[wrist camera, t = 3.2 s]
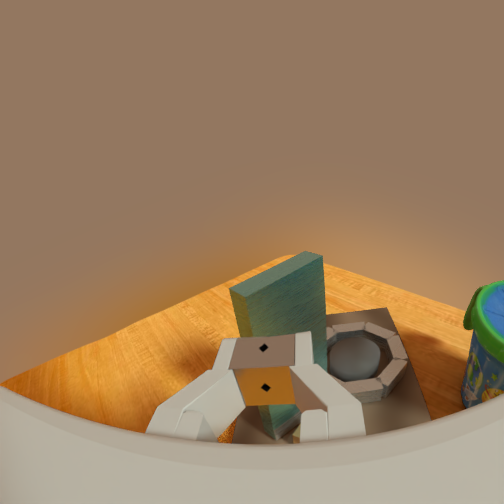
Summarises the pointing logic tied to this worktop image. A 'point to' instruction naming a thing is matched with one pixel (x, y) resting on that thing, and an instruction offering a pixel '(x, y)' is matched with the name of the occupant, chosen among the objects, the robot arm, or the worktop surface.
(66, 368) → the worktop surface
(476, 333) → the snack cup
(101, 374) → the worktop surface
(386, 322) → the base
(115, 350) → the worktop surface
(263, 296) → the ring with upright panel
